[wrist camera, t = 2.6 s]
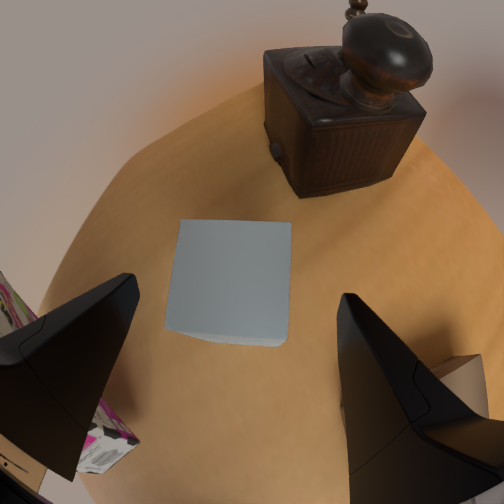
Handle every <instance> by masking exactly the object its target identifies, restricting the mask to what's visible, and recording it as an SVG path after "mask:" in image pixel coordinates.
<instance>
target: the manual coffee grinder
mask: <svg viewBox="0 0 504 504" xmlns="http://www.w3.org/2000/svg"><path fill="white" fill-rule="evenodd" d="M349 4H350V6H351V7H350V8H349V9H347V10H346V11H345V17H346V19H347V20H348V22H347V23H346V24H345V25H344V27H343V35H342V46H314V47H296V48H284V49H275V50H267V51H265V52H264V55H263V67H264V93H265V122H264V126H265V129H266V132H267V134H268V137H269V140H270V145H269V148H270V151H271V154H272V156H273V158H274V160H275V161H276V162H278V164H279V165H280V166H281V168H282V170H283V172H284V174H285V176H286V178H287V180H288V182H289V184H290V186H291V187H292V188H293V190H294V191H295V193H296V194H297V196H298V197H299V199H301V198H309V197H319V196H327V195H331V194H336V193H340V192H345V191H349V190H354V189H358V188H362V187H367V186H370V185H373V184H376V183H378V182H381V181H383V180H386V179H388V178H390V177H392V175H393V173H394V171H395V169H396V168H397V166H398V164H399V163H400V161H401V159H402V157H403V156H404V154H405V152H406V151H407V149H408V147H409V145H410V144H411V142H412V140H413V138H414V136H415V135H416V133H417V131H418V129H419V127H420V125H421V124H422V122H423V120H424V118H425V116H426V113H427V112H426V111H425V110H424V109H423V107H422V106H421V105H420V104H419V102H418V101H417V100H416V99H415V98H414V97H413V95H412V94H411V93H410V92H409V91H410V90H413V89H415V88H418V87H421V86H424V84H425V83H426V82H427V80H428V79H429V78H430V76H431V73H432V71H433V59H432V54H431V51H430V49H429V46H428V44H427V42H426V41H425V40H424V39H423V38H422V37H421V36H420V35H419V33H418V32H417V31H416V30H415V29H414V28H413V27H412V26H410V25H409V24H408V23H407V22H405V21H403V20H401V19H399V18H397V17H394V16H391V15H387V14H384V13H367V14H366V13H365V12H364V10H365V9H366V7H367V6H368V2H367V0H349Z"/></svg>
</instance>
